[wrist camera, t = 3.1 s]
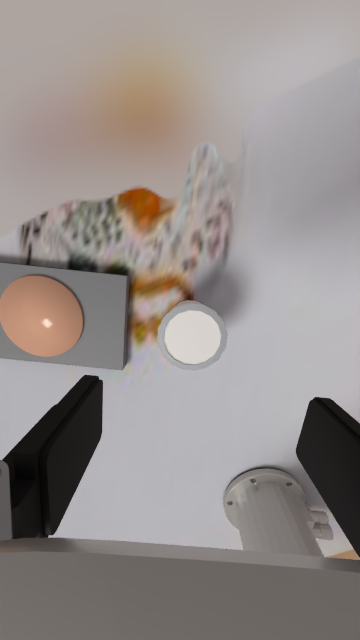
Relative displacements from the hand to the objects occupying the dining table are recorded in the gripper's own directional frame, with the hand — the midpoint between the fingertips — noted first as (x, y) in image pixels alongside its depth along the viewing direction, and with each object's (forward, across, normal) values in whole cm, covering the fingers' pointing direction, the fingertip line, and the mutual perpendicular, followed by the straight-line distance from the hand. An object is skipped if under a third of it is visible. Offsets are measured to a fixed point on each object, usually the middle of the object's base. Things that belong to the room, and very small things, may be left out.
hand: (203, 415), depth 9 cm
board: (+18, +17, +1) cm, 25 cm away
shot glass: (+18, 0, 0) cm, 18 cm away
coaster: (+16, +18, +1) cm, 24 cm away
